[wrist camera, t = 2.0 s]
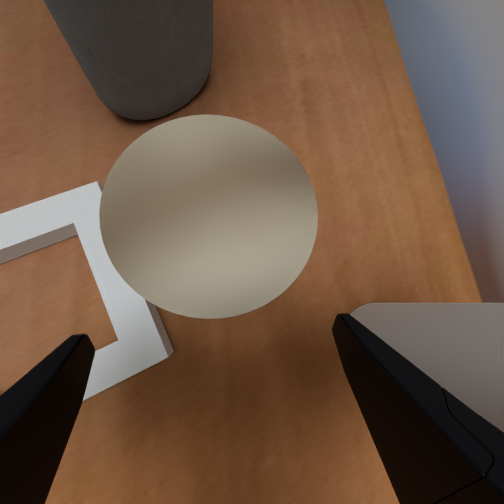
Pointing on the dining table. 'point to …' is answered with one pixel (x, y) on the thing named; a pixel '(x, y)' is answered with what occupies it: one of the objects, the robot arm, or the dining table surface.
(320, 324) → the dining table surface
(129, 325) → the rectangular frame
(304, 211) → the disc
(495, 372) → the cylindrical container
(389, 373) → the robot arm
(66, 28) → the vase
